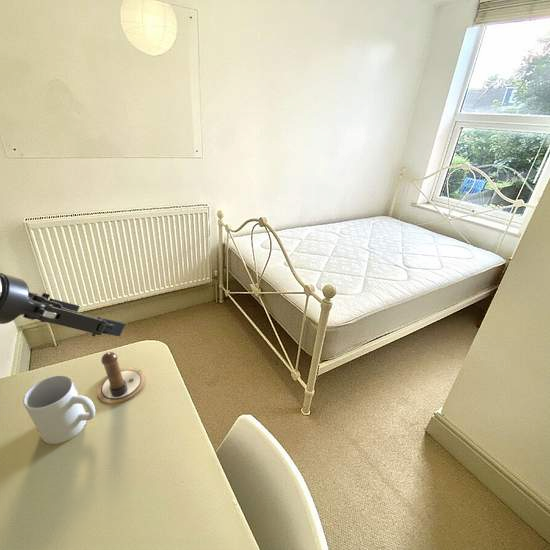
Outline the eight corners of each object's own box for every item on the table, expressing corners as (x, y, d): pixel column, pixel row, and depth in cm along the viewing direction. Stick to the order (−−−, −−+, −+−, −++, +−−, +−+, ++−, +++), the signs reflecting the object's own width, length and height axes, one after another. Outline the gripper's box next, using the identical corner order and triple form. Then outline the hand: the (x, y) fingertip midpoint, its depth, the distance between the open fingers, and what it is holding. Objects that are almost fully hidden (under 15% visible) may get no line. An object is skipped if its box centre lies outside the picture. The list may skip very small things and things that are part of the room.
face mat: (86, 393, 74) (86, 391, 74) (123, 363, 83) (123, 361, 83) (119, 410, 70) (119, 409, 70) (155, 377, 79) (154, 375, 79)
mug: (31, 444, 63) (11, 408, 58) (57, 408, 70) (41, 374, 65) (90, 445, 63) (75, 410, 58) (110, 409, 71) (98, 375, 65)
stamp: (107, 393, 74) (95, 356, 68) (120, 382, 77) (108, 346, 71) (118, 399, 72) (106, 361, 67) (130, 388, 75) (120, 351, 69)
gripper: (-72, 297, 50) (51, 320, 69) (24, 345, 41) (134, 356, 60) (-47, 255, 51) (66, 289, 71) (51, 292, 43) (149, 319, 62)
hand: (97, 320), depth 65 cm, fingers open, 13 cm apart
